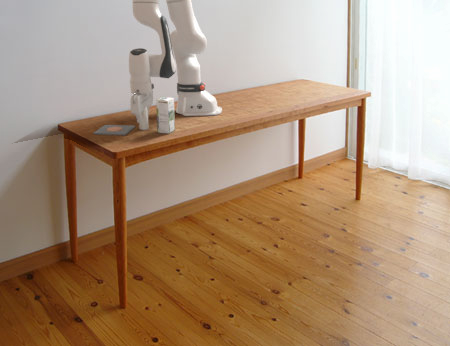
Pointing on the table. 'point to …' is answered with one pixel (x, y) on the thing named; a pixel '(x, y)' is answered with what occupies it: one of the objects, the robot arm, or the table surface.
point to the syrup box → (165, 115)
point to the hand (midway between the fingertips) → (143, 119)
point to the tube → (144, 120)
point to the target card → (114, 130)
